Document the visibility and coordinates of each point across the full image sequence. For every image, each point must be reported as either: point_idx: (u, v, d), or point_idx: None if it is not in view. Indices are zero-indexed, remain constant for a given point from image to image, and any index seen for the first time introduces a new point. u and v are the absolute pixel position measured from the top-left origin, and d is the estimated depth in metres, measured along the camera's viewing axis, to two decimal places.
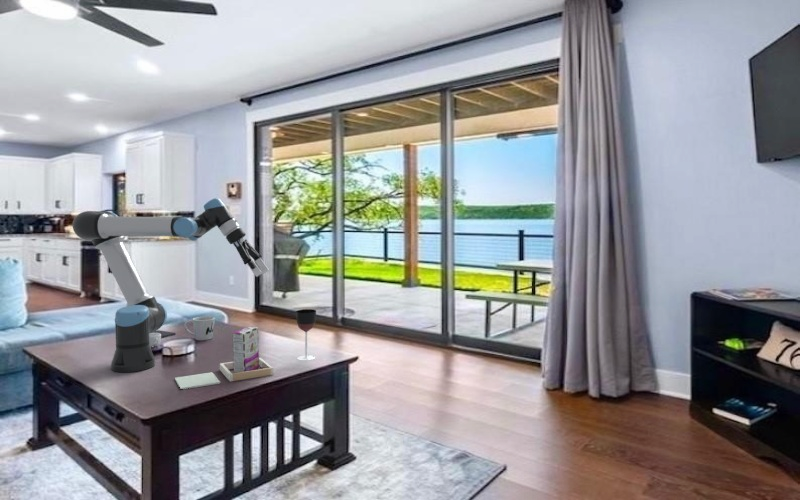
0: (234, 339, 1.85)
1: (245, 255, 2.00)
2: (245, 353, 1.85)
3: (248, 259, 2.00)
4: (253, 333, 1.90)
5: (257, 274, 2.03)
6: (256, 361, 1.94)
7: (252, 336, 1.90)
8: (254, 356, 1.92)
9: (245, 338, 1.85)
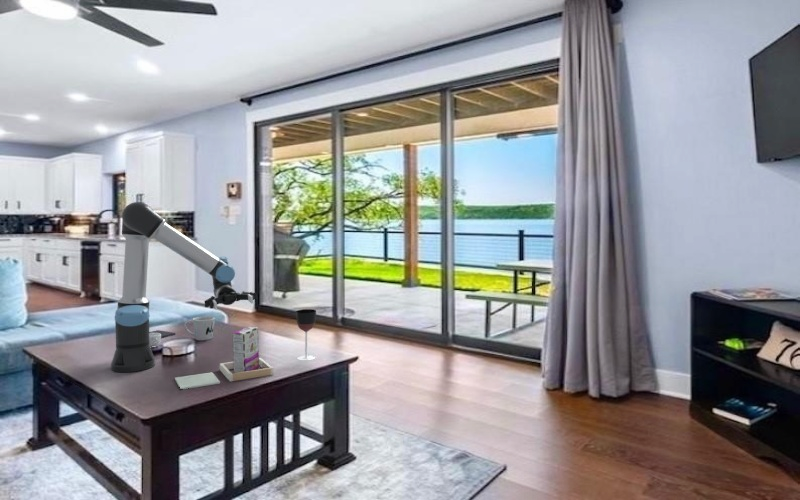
0: (234, 339, 1.85)
1: None
2: (245, 353, 1.85)
3: (256, 297, 2.06)
4: (253, 333, 1.90)
5: (252, 298, 1.99)
6: (256, 361, 1.94)
7: (252, 336, 1.90)
8: (254, 356, 1.92)
9: (245, 338, 1.85)
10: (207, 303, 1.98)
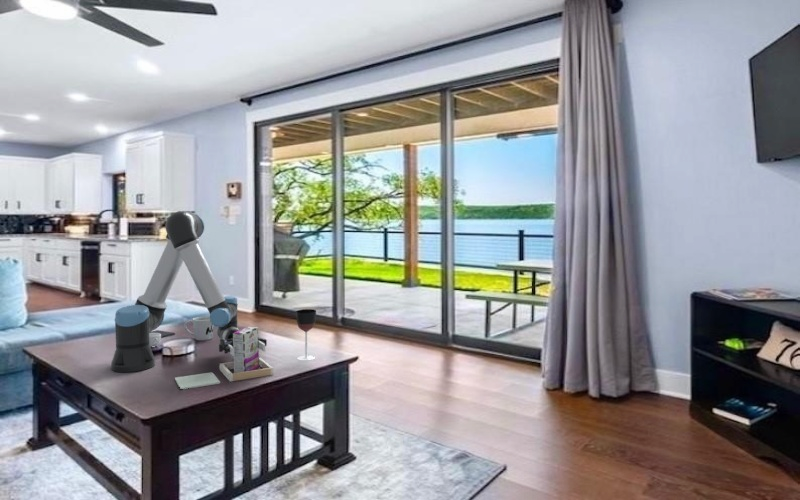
0: (234, 339, 1.85)
1: None
2: (245, 353, 1.85)
3: (266, 344, 1.98)
4: (253, 333, 1.90)
5: None
6: (256, 360, 1.94)
7: (252, 336, 1.90)
8: (254, 356, 1.92)
9: (245, 338, 1.85)
10: (222, 347, 1.89)
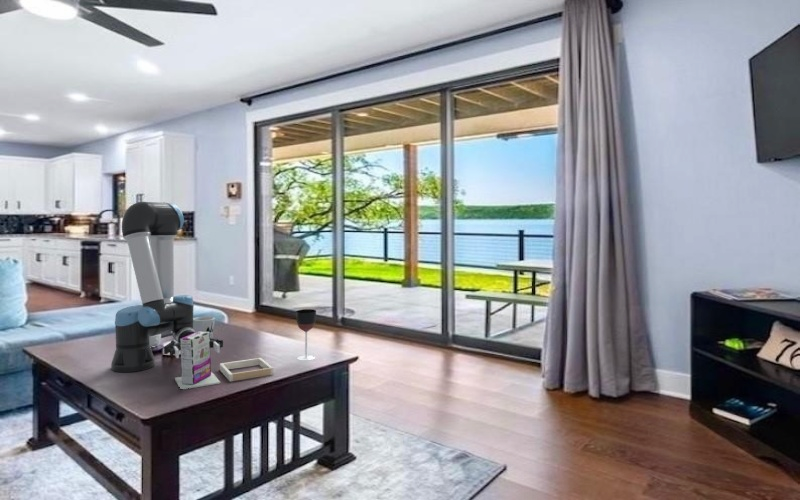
0: (182, 345, 1.73)
1: None
2: (193, 359, 1.73)
3: (222, 345, 1.88)
4: (203, 338, 1.79)
5: None
6: (208, 367, 1.82)
7: (203, 341, 1.79)
8: (205, 363, 1.80)
9: (193, 344, 1.74)
10: (167, 349, 1.77)
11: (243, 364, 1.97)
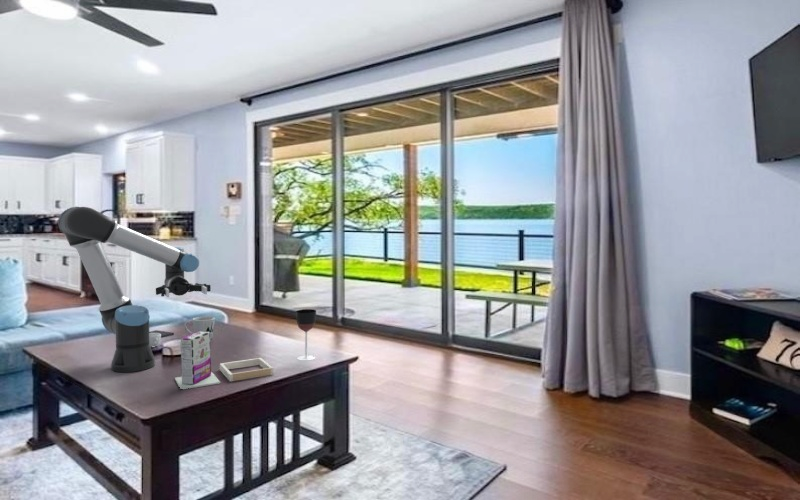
0: (182, 345, 1.73)
1: None
2: (193, 359, 1.73)
3: (210, 290, 2.04)
4: (203, 338, 1.79)
5: (206, 289, 1.97)
6: (208, 367, 1.82)
7: (203, 341, 1.79)
8: (205, 363, 1.80)
9: (194, 344, 1.73)
10: (158, 290, 1.94)
11: (243, 364, 1.97)
